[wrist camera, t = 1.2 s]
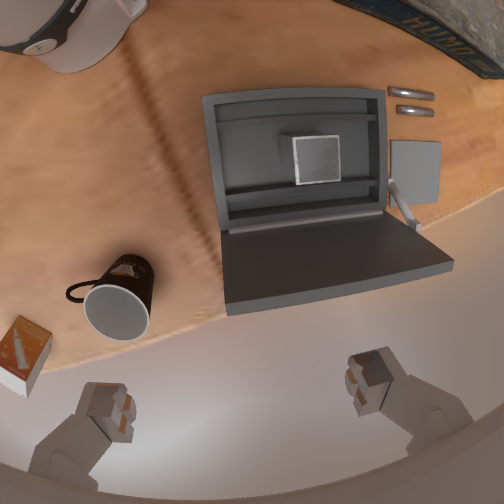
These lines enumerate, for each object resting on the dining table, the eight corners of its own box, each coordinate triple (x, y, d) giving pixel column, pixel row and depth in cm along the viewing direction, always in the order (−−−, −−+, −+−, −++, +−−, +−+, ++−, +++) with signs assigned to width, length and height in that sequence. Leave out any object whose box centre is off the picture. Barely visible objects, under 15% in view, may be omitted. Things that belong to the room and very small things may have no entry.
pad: (390, 140, 36) (391, 140, 36) (439, 142, 37) (440, 142, 37) (388, 206, 41) (390, 206, 40) (436, 201, 41) (437, 202, 41)
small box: (52, 332, 44) (26, 382, 32) (50, 352, 46) (27, 400, 34) (18, 313, 41) (-12, 358, 30) (18, 334, 43) (-8, 378, 32)
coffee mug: (171, 267, 41) (161, 308, 32) (145, 307, 43) (133, 351, 35) (103, 224, 37) (74, 257, 28) (82, 270, 39) (56, 308, 30)
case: (203, 98, 32) (189, 77, 15) (378, 92, 33) (476, 91, 17) (221, 229, 40) (227, 316, 23) (380, 209, 41) (460, 268, 24)
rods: (387, 86, 33) (392, 86, 32) (428, 92, 33) (434, 92, 32) (389, 113, 35) (394, 114, 33) (430, 117, 35) (435, 117, 34)
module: (278, 133, 34) (293, 137, 27) (317, 131, 34) (340, 135, 28) (281, 172, 36) (297, 186, 29) (319, 169, 36) (342, 181, 30)
